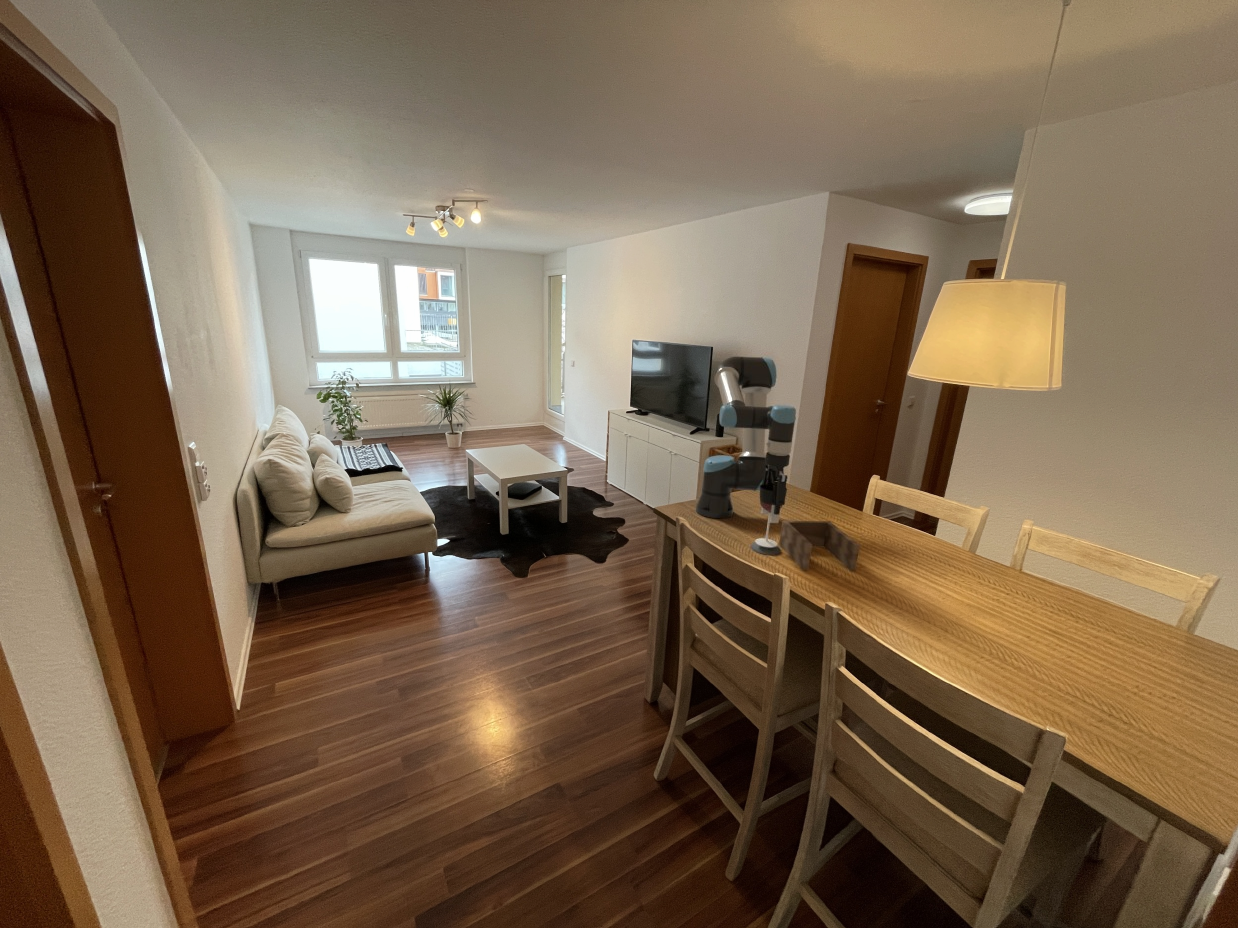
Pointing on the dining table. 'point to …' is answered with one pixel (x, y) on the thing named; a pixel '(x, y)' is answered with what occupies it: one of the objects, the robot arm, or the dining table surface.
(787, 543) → the walnut u-shaped bracket
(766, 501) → the wineglass
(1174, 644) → the dining table surface
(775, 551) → the felt coaster
